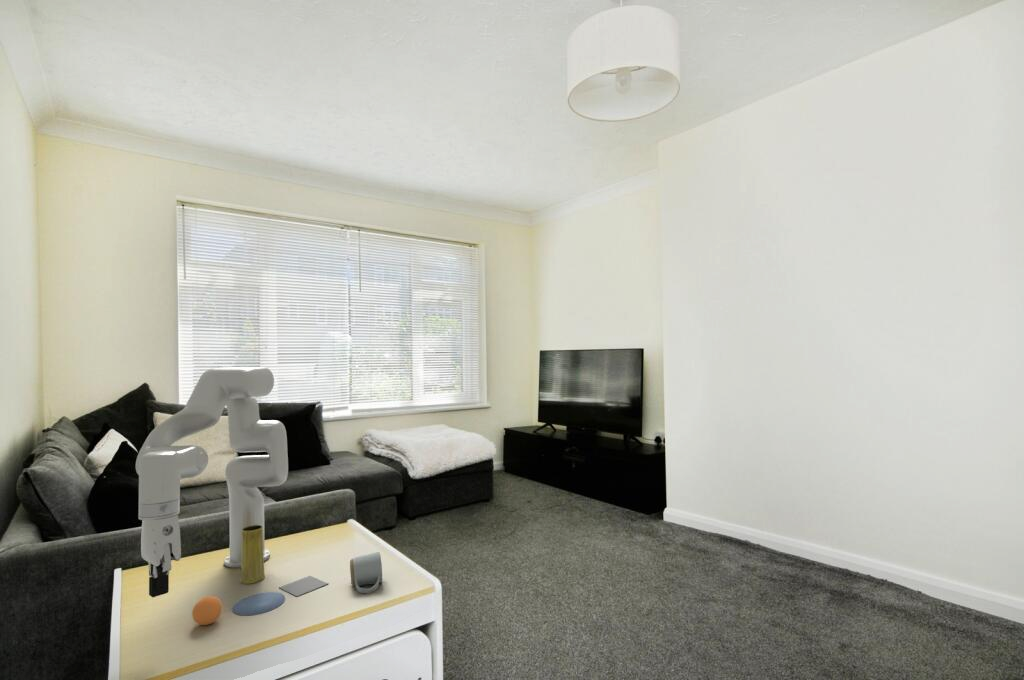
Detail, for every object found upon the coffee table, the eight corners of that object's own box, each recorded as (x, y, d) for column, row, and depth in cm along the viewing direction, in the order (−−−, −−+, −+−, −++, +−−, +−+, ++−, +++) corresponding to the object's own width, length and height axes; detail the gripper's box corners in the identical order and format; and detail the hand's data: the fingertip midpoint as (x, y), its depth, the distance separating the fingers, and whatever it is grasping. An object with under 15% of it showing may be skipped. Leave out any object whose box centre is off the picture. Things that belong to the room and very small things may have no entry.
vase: (269, 576, 147) (269, 525, 147) (252, 585, 141) (251, 532, 141) (252, 574, 149) (252, 523, 149) (235, 582, 143) (234, 530, 143)
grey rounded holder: (349, 580, 143) (349, 552, 143) (380, 575, 146) (379, 547, 146) (352, 597, 133) (351, 567, 133) (385, 591, 136) (384, 562, 136)
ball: (187, 625, 120) (187, 598, 121) (215, 614, 125) (215, 589, 125) (198, 633, 117) (198, 606, 117) (226, 622, 121) (226, 596, 122)
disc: (223, 606, 129) (223, 605, 129) (270, 588, 139) (270, 587, 139) (245, 620, 122) (245, 619, 122) (294, 600, 131) (294, 600, 131)
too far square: (278, 588, 139) (278, 587, 139) (310, 576, 146) (310, 575, 146) (296, 596, 133) (296, 596, 133) (328, 584, 141) (328, 583, 141)
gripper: (192, 509, 113) (191, 596, 112) (166, 500, 122) (165, 580, 121) (151, 518, 107) (151, 610, 106) (127, 507, 116) (126, 592, 115)
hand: (158, 594), depth 113 cm, fingers closed
